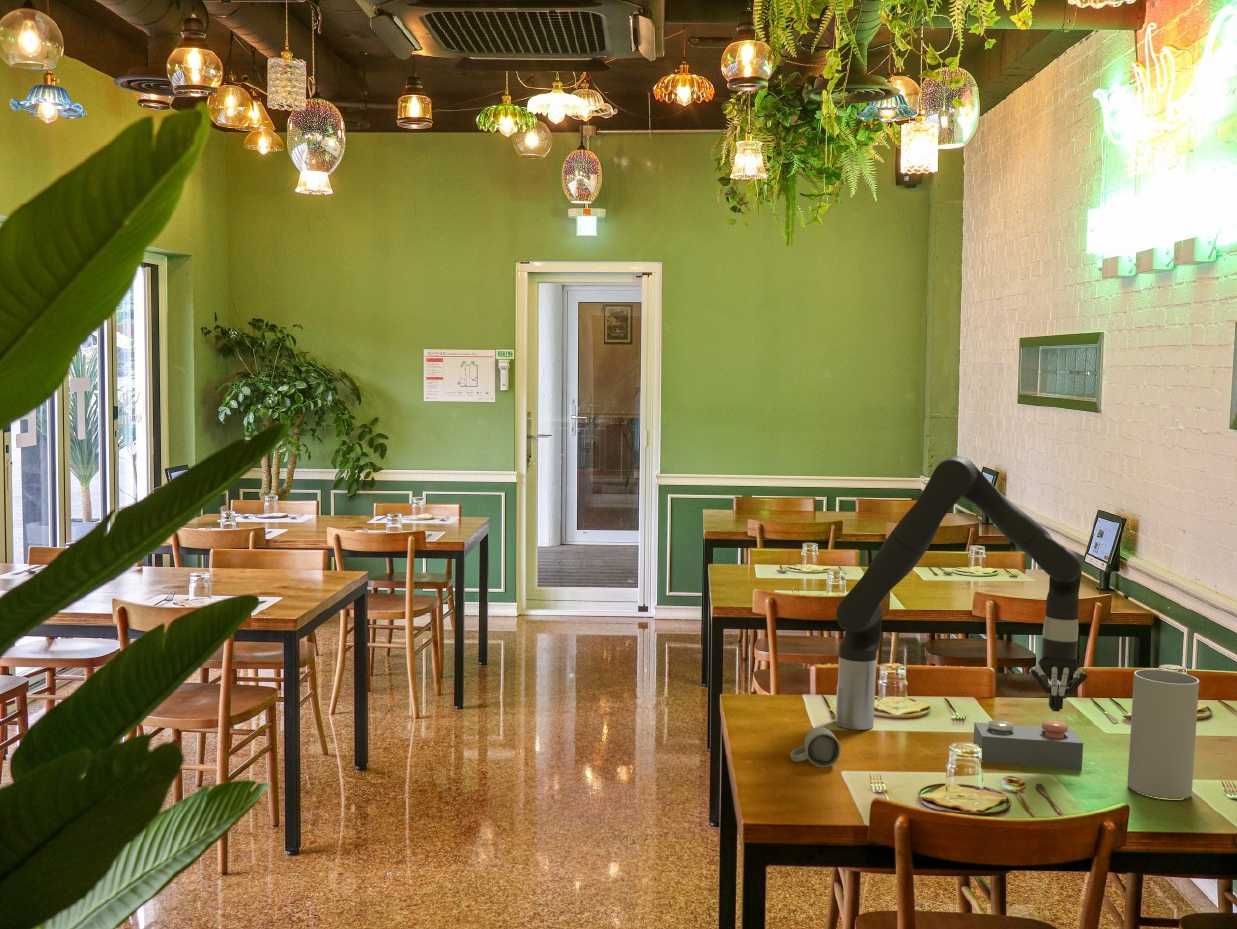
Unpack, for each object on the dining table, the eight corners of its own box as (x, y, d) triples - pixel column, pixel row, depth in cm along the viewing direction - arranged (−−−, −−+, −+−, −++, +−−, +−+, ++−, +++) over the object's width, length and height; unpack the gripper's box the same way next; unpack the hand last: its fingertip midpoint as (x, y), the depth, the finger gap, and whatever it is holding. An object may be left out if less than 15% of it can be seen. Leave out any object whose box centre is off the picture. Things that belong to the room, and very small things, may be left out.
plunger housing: (981, 762, 262) (982, 736, 261) (973, 747, 272) (974, 722, 272) (1081, 769, 259) (1083, 743, 258) (1069, 754, 269) (1071, 728, 269)
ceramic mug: (834, 756, 263) (835, 723, 262) (840, 768, 254) (841, 734, 254) (788, 755, 263) (788, 722, 262) (792, 767, 255) (793, 733, 254)
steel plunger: (989, 752, 264) (990, 726, 263) (984, 745, 269) (986, 719, 269) (1014, 754, 263) (1015, 728, 263) (1009, 747, 269) (1011, 721, 268)
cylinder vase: (1114, 785, 249) (1121, 671, 247) (1156, 778, 254) (1163, 667, 252) (1161, 805, 237) (1169, 686, 235) (1205, 798, 242) (1212, 681, 240)
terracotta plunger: (1043, 753, 262) (1045, 726, 262) (1038, 745, 268) (1039, 719, 267) (1069, 755, 261) (1070, 728, 261) (1063, 747, 267) (1064, 721, 266)
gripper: (1033, 638, 260) (1028, 713, 261) (1094, 642, 258) (1089, 717, 259) (1026, 631, 267) (1022, 704, 269) (1086, 635, 265) (1081, 708, 267)
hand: (1055, 710), depth 264 cm, fingers closed
